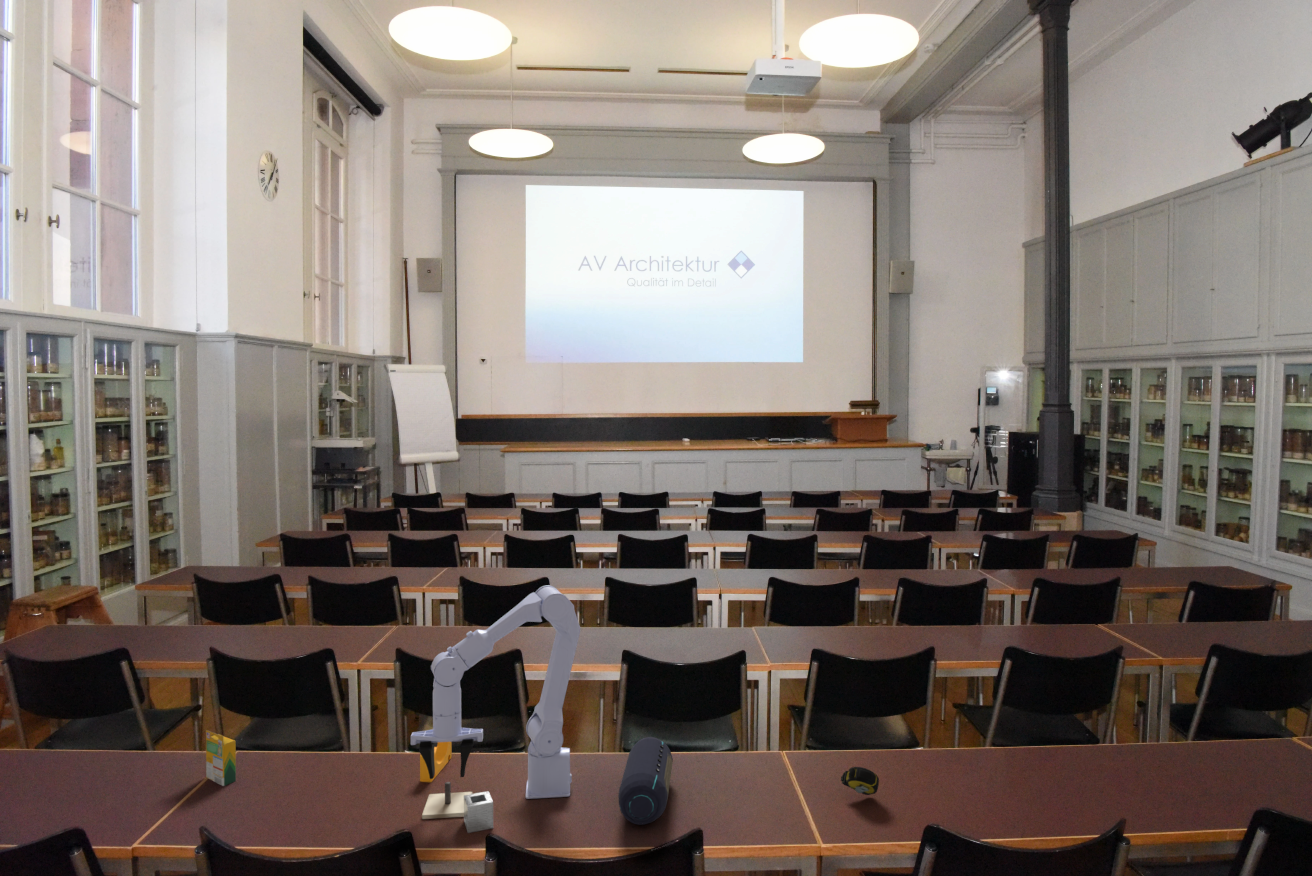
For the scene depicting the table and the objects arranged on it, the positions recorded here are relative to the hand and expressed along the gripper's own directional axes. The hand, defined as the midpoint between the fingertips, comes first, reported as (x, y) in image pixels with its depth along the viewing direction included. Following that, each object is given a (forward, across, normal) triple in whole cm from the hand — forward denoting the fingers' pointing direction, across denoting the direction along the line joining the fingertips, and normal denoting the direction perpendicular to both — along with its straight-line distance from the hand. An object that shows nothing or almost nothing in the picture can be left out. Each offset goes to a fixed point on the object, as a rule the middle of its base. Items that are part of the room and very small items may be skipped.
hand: (447, 775), depth 163 cm
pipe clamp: (+7, +6, -18) cm, 20 cm away
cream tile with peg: (+6, 0, 0) cm, 6 cm away
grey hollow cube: (+6, -7, +8) cm, 13 cm away
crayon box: (+7, +52, -18) cm, 55 cm away
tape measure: (+7, -87, +7) cm, 88 cm away
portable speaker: (+7, -42, +3) cm, 42 cm away
